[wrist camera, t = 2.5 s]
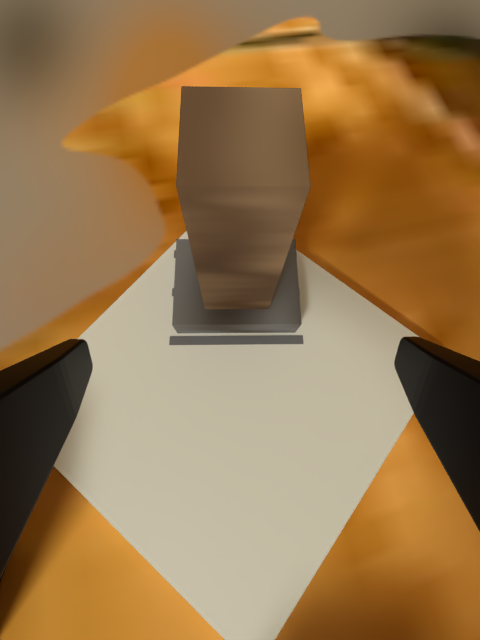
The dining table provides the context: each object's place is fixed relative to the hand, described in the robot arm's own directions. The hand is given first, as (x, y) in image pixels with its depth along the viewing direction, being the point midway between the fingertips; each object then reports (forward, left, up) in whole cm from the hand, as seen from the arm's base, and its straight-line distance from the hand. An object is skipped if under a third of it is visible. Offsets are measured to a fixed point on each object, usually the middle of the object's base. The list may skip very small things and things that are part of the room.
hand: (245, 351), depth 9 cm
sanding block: (+4, -5, -12) cm, 14 cm away
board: (0, 0, -13) cm, 13 cm away
